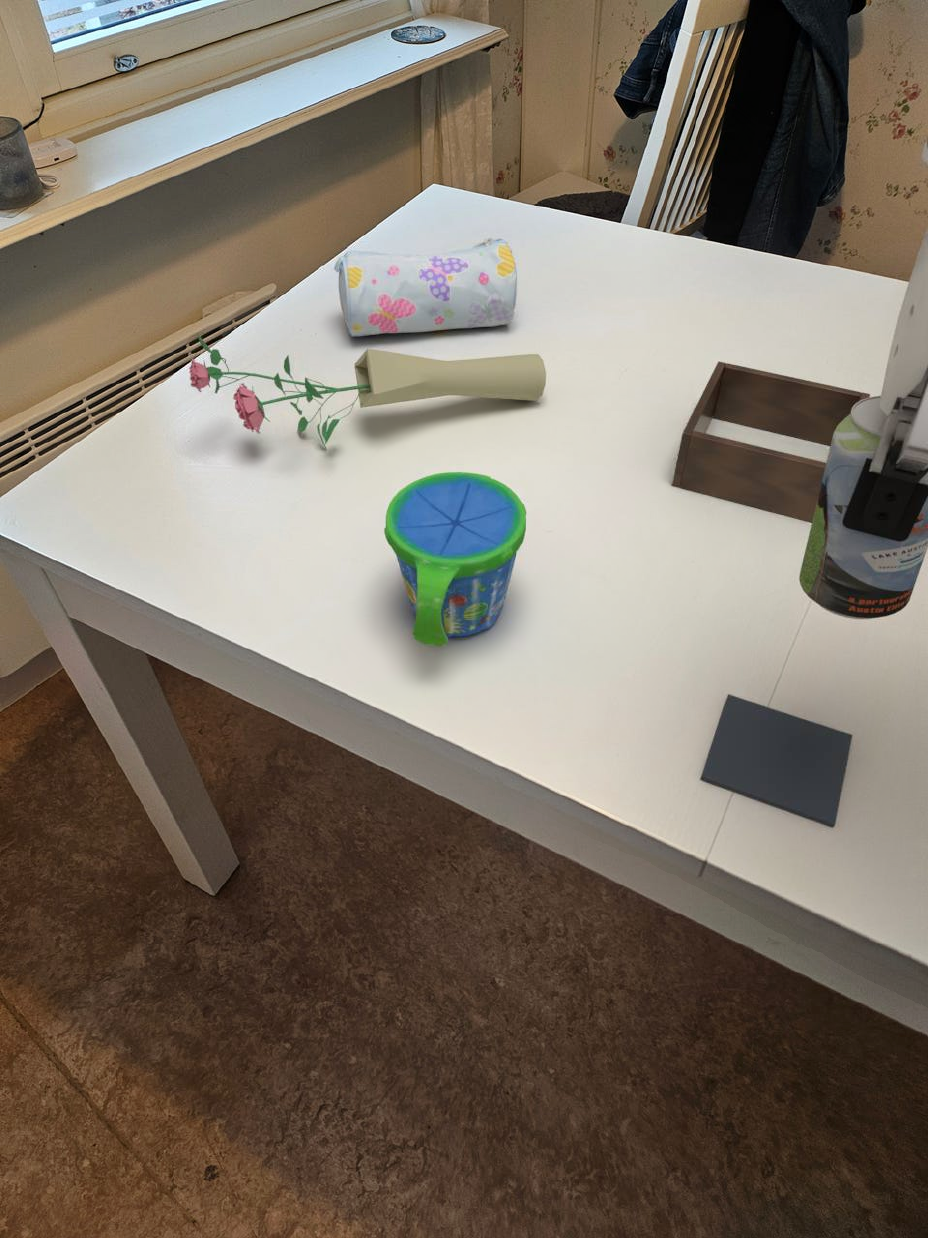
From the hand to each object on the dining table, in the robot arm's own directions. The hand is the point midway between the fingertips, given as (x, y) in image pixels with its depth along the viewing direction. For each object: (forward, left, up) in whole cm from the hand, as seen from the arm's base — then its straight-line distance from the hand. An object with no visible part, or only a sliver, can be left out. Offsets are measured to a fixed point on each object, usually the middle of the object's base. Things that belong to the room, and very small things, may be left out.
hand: (882, 491), depth 47 cm
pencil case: (+50, -43, -23) cm, 69 cm away
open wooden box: (+8, -32, -22) cm, 40 cm away
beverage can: (0, 0, -7) cm, 7 cm away
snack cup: (+27, -2, -23) cm, 35 cm away
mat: (0, +2, -22) cm, 22 cm away
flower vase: (+45, -22, -23) cm, 55 cm away
